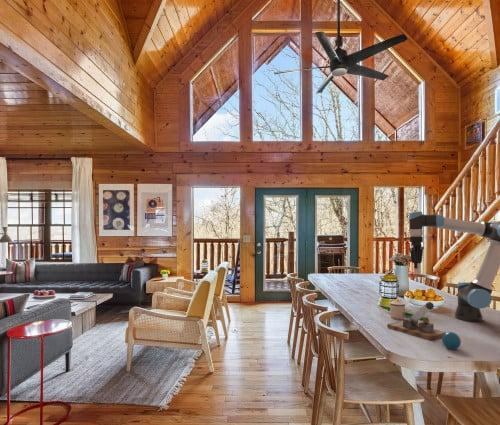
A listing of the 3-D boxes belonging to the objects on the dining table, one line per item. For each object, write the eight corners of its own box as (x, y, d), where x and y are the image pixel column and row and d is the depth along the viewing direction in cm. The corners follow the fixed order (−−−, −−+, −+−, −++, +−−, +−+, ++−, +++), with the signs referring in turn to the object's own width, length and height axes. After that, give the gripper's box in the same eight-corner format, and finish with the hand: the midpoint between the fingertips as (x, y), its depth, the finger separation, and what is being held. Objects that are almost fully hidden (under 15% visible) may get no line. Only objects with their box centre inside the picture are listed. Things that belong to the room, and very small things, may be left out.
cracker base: (387, 327, 198) (387, 311, 198) (401, 323, 206) (401, 308, 206) (431, 340, 176) (431, 322, 177) (446, 335, 184) (445, 318, 184)
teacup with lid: (406, 319, 214) (406, 301, 215) (390, 318, 217) (390, 300, 217) (403, 314, 226) (403, 297, 226) (388, 313, 229) (388, 296, 229)
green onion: (428, 321, 214) (384, 309, 237) (428, 316, 214) (384, 304, 237) (424, 323, 211) (380, 310, 234) (425, 318, 211) (380, 305, 234)
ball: (442, 350, 163) (442, 333, 163) (441, 345, 170) (440, 328, 170) (462, 353, 160) (462, 335, 160) (459, 347, 167) (459, 330, 167)
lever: (404, 320, 194) (427, 300, 184) (409, 319, 197) (431, 300, 186) (409, 326, 192) (432, 307, 181) (413, 325, 194) (436, 306, 183)
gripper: (416, 235, 222) (417, 272, 221) (404, 236, 215) (405, 273, 214) (427, 235, 216) (428, 273, 215) (415, 236, 209) (416, 275, 208)
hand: (417, 273), depth 215 cm, fingers closed
